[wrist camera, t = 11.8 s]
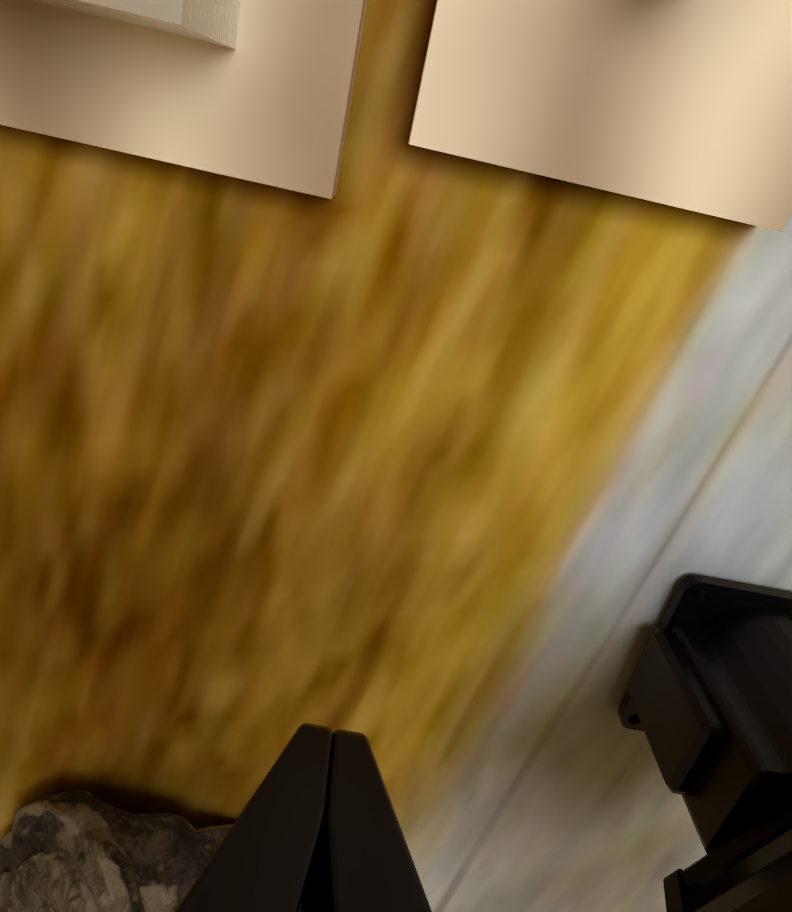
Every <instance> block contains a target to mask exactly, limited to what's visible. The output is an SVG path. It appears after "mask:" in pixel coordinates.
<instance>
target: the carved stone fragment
mask: <svg viewBox="0 0 792 912" xmlns="http://www.w3.org/2000/svg"><path fill="white" fill-rule="evenodd" d="M232 826H233V824H228V825H222V826H210V827H205V828H203V829H200V828H198V829H197V830H196V829H195V828H194V827H193V826H192V825H190V824H189V823H188V822H187V820H186V819H185V818H183V817H181V816H177V815H173V814H169V813H157V814H134V813H128V812H126V811H124V810H121V809H119V808H115V807H112V806H110V805H108V804H105V803H103V802H101V801H99V800H97V799H96V798H94V797H93V795H92V794H91V793H90V792H87V791H82V790H72V791H66V792H60V793H56V794H52V795H48V796H45V797H42V798H40V799H37V800H35V801H33V802H30V803H28V804H26V805H23V806H22V807H20V808H19V809H18V810H17V811H16V812H15V817H14V820H13V829H12V831H11V832H9V833H8V834H7V835H5V836H4V837H2V839H1V841H0V912H175V910H176V909H177V907H178V906H179V904H180V903H181V902H182V900H183V899H184V897H185V896H186V894H187V893H188V891H189V890H190V888H191V887H192V885H193V884H194V882H195V881H196V879H197V878H198V876H199V875H200V873H201V872H202V870H203V869H204V867H205V866H206V864H207V863H208V861H209V860H210V858H211V857H212V855H213V854H214V853H215V851H216V850H217V848H218V847H219V845H220V844H221V842H222V841H223V839H224V838H225V836H226V835H227V833H228V832H229V830H230V829H231V827H232Z"/></svg>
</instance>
